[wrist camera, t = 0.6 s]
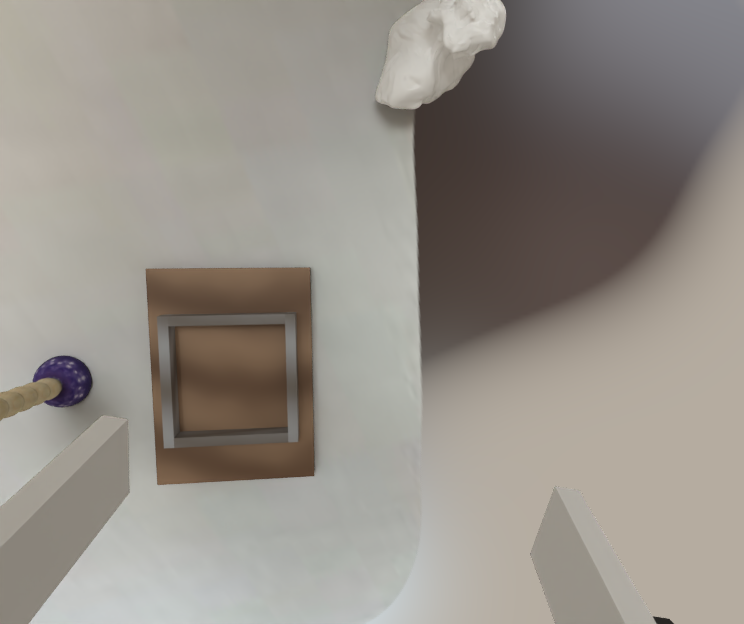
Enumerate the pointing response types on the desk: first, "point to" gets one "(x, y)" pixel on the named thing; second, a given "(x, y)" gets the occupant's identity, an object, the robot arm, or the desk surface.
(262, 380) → the plate
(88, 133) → the desk surface
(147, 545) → the desk surface
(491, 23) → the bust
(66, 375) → the toy lamp
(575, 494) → the robot arm
